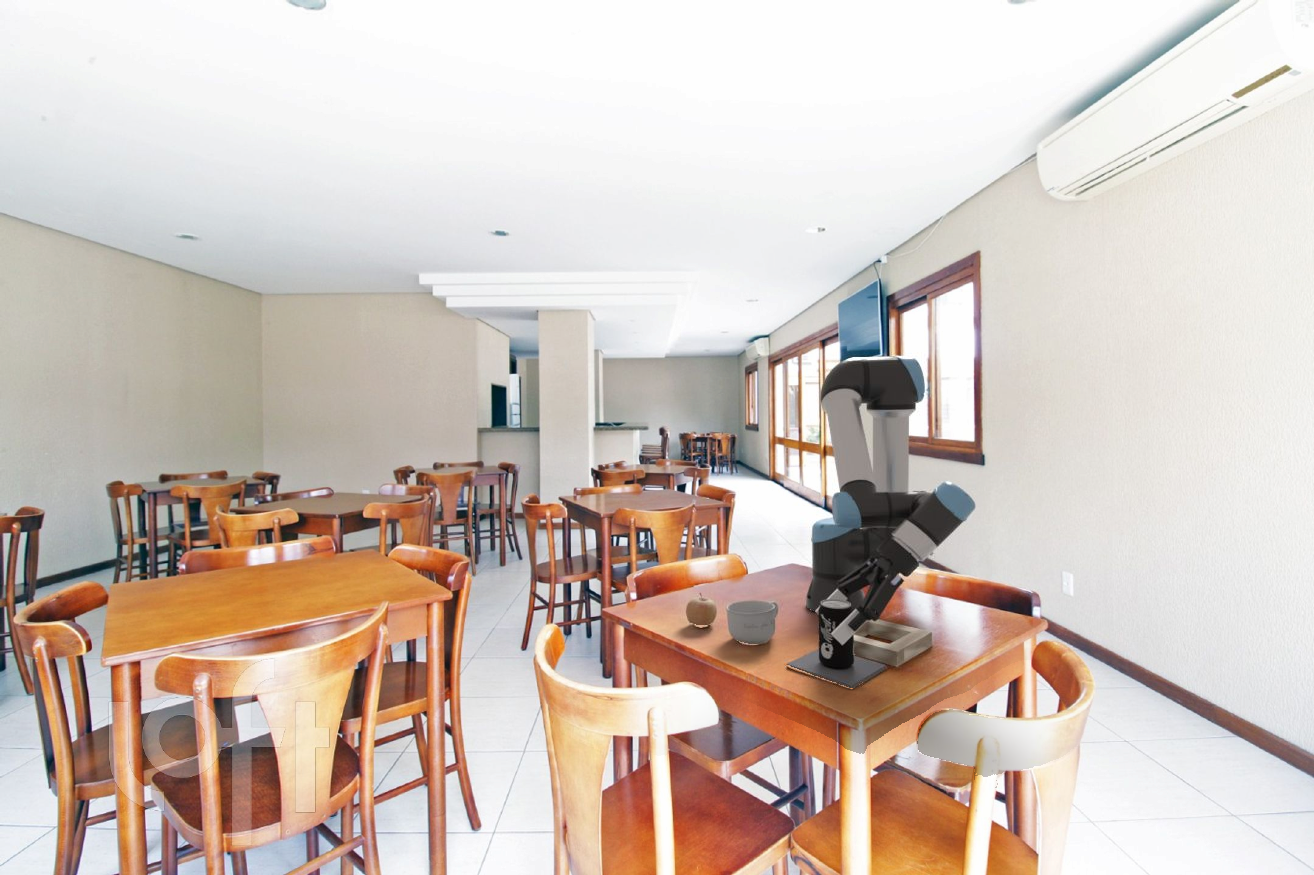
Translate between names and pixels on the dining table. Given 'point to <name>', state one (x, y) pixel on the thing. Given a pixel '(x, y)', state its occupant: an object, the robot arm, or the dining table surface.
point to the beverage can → (829, 647)
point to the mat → (846, 677)
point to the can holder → (895, 653)
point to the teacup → (752, 620)
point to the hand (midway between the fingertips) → (827, 627)
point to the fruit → (701, 611)
